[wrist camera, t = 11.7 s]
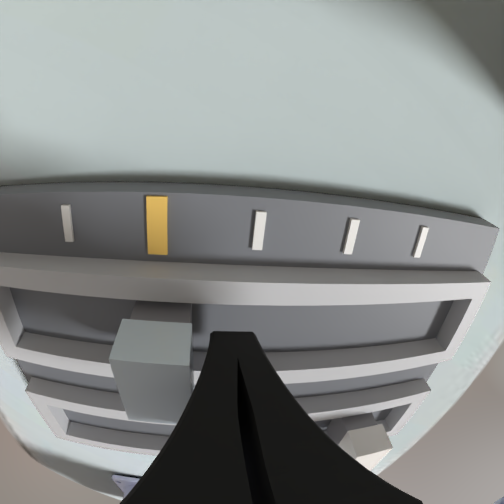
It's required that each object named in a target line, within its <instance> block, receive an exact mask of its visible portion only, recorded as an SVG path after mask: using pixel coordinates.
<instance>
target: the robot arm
mask: <svg viewBox="0 0 504 504" xmlns="http://www.w3.org/2000/svg"><path fill="white" fill-rule="evenodd" d="M112 480H113V481H114V482H115V483H116V485H117V486H118V487H119V488H120V489H121V491H122V492H123V493H124V496H123V500H122V501H121V503H120V504H423V503H422V501H420V500H419V499H416V498H415V497H412V496H410V495H409V494H407V493H405V492H403V491H401V490H399V489H398V488H396V487H394V486H392V485H391V484H389V483H387V482H386V481H384V480H383V479H381V478H380V477H378V476H377V475H375V474H374V473H372V472H371V471H369V470H368V469H367V468H365V467H364V466H363V465H362V464H360V463H359V462H358V461H356V460H355V459H354V458H353V457H351V456H350V455H349V454H348V453H346V452H345V451H344V450H343V449H342V448H341V447H339V446H338V445H337V444H336V443H335V442H334V441H333V440H332V439H331V438H330V437H329V436H328V435H327V434H326V433H325V432H324V431H323V430H322V429H321V428H320V427H319V426H318V425H317V424H316V423H315V422H314V421H313V420H312V419H311V417H310V416H309V415H308V414H307V413H306V412H305V410H304V409H303V408H302V407H301V405H300V404H299V403H298V402H297V400H296V399H295V398H294V397H293V395H292V394H291V393H290V391H289V390H288V388H287V387H286V386H285V384H284V383H283V381H282V380H281V378H280V377H279V375H278V374H277V372H276V371H275V369H274V368H273V366H272V364H271V363H270V361H269V359H268V358H267V356H266V354H265V352H264V351H263V349H262V347H261V345H260V343H259V341H258V339H257V337H256V334H254V333H253V332H245V331H213V332H212V333H210V341H209V347H208V351H207V355H206V358H205V361H204V364H203V367H202V370H201V373H200V375H199V378H198V380H197V383H196V386H195V388H194V390H193V392H192V394H191V397H190V399H189V401H188V403H187V405H186V407H185V409H184V411H183V413H182V415H181V417H180V419H179V421H178V423H177V425H176V426H175V428H174V430H173V431H172V433H171V435H170V437H169V438H168V440H167V441H166V443H165V445H164V446H163V448H162V449H161V451H160V452H159V454H158V455H157V457H156V458H155V460H154V461H153V463H152V464H151V465H150V467H149V468H148V470H147V471H146V472H145V473H144V475H143V476H142V477H141V478H140V479H139V478H132V477H125V476H119V475H112ZM493 504H504V497H502V498H500V499H499V500H497V501H496V502H494V503H493Z"/></svg>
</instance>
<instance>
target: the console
mask: <svg viewBox="0 0 504 504" xmlns="http://www.w3.org/2000/svg"><path fill="white" fill-rule="evenodd" d="M498 231H499V228H498V227H496V226H494V225H493V224H491V223H489V222H488V221H486V220H484V219H482V218H477V217H472V216H467V215H462V214H457V213H452V212H446V211H441V210H435V209H429V208H424V207H418V206H412V205H405V204H399V203H392V202H385V201H378V200H371V199H364V198H356V197H348V196H340V195H332V194H323V193H313V192H304V191H293V190H283V189H271V188H258V187H245V186H229V185H212V184H191V183H160V182H73V183H45V184H26V185H10V186H0V345H1V347H2V349H3V351H4V353H5V355H6V356H7V357H11V358H14V359H17V361H18V363H19V365H20V367H21V369H22V371H23V373H24V375H25V377H26V378H27V380H28V382H29V384H28V386H27V388H26V390H25V391H26V393H27V395H28V396H29V398H30V399H31V401H32V403H33V404H34V406H35V407H36V409H37V410H38V412H39V413H40V415H41V416H42V418H43V419H44V421H45V422H46V424H47V425H48V426H49V428H50V429H51V431H52V432H53V433H54V435H55V436H56V437H57V438H60V439H64V440H68V441H72V442H76V443H80V444H85V445H89V446H94V447H99V448H105V449H110V450H116V451H122V452H129V453H136V454H144V455H153V456H157V455H158V454H159V452H160V451H161V449H162V448H163V446H164V445H165V443H166V441H167V440H168V438H169V437H170V435H171V433H172V431H173V430H174V428H175V426H176V425H177V424H165V423H154V422H144V421H135V420H129V419H128V416H127V413H126V411H125V408H124V405H123V402H122V400H121V397H120V394H119V391H118V388H117V385H116V382H115V379H114V375H113V372H112V369H111V365H110V362H109V356H110V353H111V350H112V347H113V344H114V341H115V338H116V335H117V332H118V330H119V327H120V324H121V321H122V319H130V317H131V314H132V311H133V308H134V305H135V302H136V300H142V301H158V302H176V303H192V339H193V370H194V388H195V386H196V383H197V380H198V378H199V375H200V373H201V370H202V367H203V364H204V361H205V358H206V355H207V351H208V347H209V341H210V333H212V332H213V331H245V332H253V333H254V334H256V337H257V339H258V341H259V343H260V345H261V347H262V349H263V351H264V352H265V354H266V356H267V358H268V359H269V361H270V363H271V364H272V366H273V368H274V369H275V371H276V372H277V374H278V375H279V377H280V378H281V380H282V381H283V383H284V384H285V386H286V387H287V388H288V390H289V391H290V393H291V394H292V395H293V397H294V398H295V399H296V400H297V402H298V403H299V404H300V405H301V407H302V408H303V409H304V410H305V412H306V413H307V414H308V415H309V416H310V417H311V419H312V420H313V421H314V422H315V423H316V424H317V425H318V426H319V427H320V428H321V429H322V430H323V431H324V432H325V433H326V434H327V435H328V432H327V427H328V425H329V424H330V422H331V420H332V419H336V418H342V417H348V416H354V415H360V414H365V413H370V412H372V414H373V416H374V418H375V421H376V423H377V425H378V424H383V426H384V429H385V431H386V433H387V435H388V437H389V436H393V435H396V434H398V433H399V432H400V431H401V430H402V428H403V427H404V426H405V425H406V423H407V422H408V421H409V420H410V418H411V417H412V416H413V415H414V413H415V412H416V411H417V409H418V408H419V407H420V405H421V404H422V403H423V401H424V400H425V399H426V397H427V396H428V394H429V393H430V392H431V389H430V387H429V386H428V384H427V383H426V382H427V380H428V379H429V377H430V376H431V374H432V372H433V371H434V369H435V368H436V366H437V364H438V363H440V362H444V361H448V360H451V359H452V358H453V356H454V354H455V353H456V351H457V349H458V348H459V346H460V344H461V342H462V341H463V339H464V337H465V335H466V333H467V332H468V330H469V328H470V326H471V324H472V322H473V320H474V318H475V316H476V314H477V312H478V310H479V308H480V306H481V304H482V302H483V300H484V298H485V296H486V293H487V291H488V289H489V287H490V284H491V281H489V280H488V279H487V278H486V277H485V276H484V275H483V273H484V270H485V268H486V265H487V263H488V260H489V257H490V255H491V252H492V249H493V246H494V243H495V241H496V238H497V235H498ZM328 436H329V435H328Z"/></svg>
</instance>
